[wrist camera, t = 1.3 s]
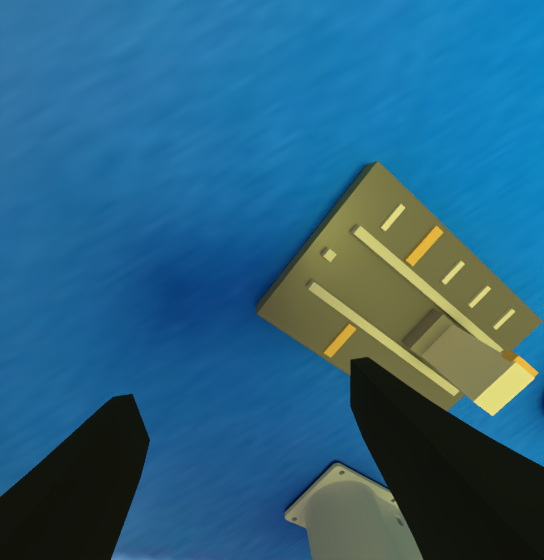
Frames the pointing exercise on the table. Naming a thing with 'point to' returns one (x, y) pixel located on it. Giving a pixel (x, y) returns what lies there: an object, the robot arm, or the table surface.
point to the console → (390, 286)
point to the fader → (470, 362)
